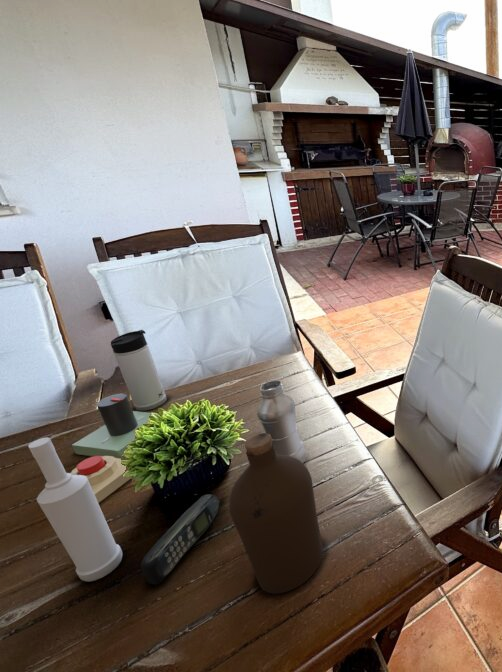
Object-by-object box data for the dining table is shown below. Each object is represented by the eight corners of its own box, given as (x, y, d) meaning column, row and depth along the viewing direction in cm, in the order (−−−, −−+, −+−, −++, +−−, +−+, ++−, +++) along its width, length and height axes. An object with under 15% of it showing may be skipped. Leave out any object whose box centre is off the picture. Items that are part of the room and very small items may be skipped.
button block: (51, 499, 76) (42, 483, 75) (102, 463, 85) (96, 448, 83) (95, 505, 75) (87, 489, 74) (143, 469, 83) (137, 454, 82)
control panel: (75, 454, 87) (71, 444, 86) (132, 418, 98) (128, 409, 98) (122, 460, 86) (118, 450, 85) (174, 423, 97) (171, 414, 96)
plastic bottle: (313, 464, 85) (295, 384, 78) (279, 483, 80) (256, 399, 73) (301, 449, 89) (283, 372, 82) (268, 466, 84) (246, 385, 77)
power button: (74, 475, 77) (70, 468, 77) (95, 461, 81) (92, 454, 80) (90, 477, 77) (86, 470, 76) (110, 463, 80) (107, 456, 79)
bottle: (72, 588, 61) (0, 460, 52) (89, 558, 66) (25, 435, 57) (115, 575, 63) (53, 449, 54) (129, 546, 67) (73, 426, 59)
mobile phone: (152, 566, 60) (222, 483, 74) (132, 565, 60) (206, 482, 74) (162, 587, 61) (229, 502, 75) (143, 586, 62) (214, 502, 75)
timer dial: (103, 435, 89) (89, 404, 86) (126, 421, 94) (113, 391, 91) (121, 437, 89) (108, 406, 86) (143, 423, 93) (131, 393, 90)
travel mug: (172, 400, 105) (148, 333, 98) (140, 414, 100) (113, 343, 93) (163, 393, 108) (139, 327, 101) (131, 406, 103) (104, 337, 96)
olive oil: (337, 565, 64) (310, 441, 56) (263, 615, 58) (219, 483, 49) (314, 522, 72) (287, 406, 63) (246, 562, 65) (206, 438, 56)
